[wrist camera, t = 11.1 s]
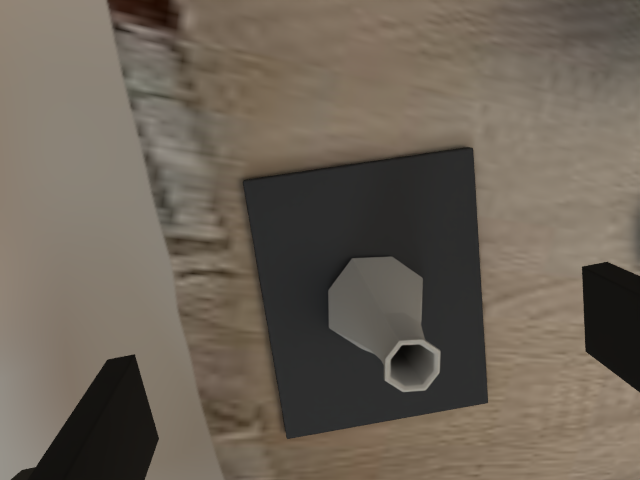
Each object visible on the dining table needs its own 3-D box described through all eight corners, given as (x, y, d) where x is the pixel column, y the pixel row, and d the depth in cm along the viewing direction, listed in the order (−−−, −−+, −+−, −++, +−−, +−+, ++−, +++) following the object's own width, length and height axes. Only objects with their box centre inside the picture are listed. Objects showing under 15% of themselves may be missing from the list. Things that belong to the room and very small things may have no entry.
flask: (343, 241, 36) (371, 287, 26) (437, 268, 37) (497, 321, 28) (312, 334, 37) (329, 410, 28) (404, 357, 39) (450, 437, 29)
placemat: (469, 146, 36) (473, 147, 35) (484, 397, 41) (488, 403, 40) (243, 179, 35) (242, 181, 34) (286, 433, 40) (286, 439, 39)
